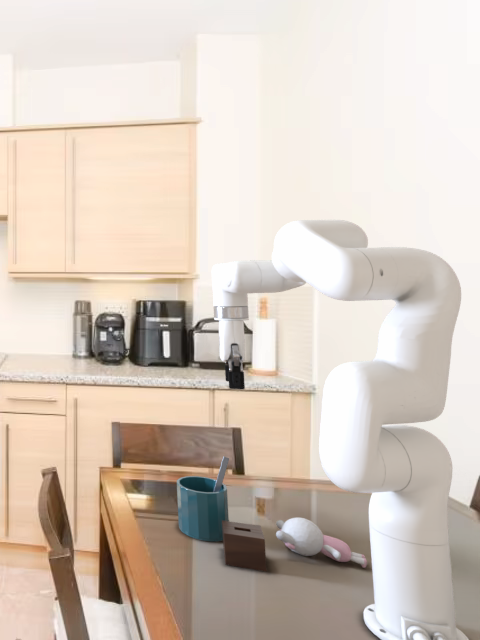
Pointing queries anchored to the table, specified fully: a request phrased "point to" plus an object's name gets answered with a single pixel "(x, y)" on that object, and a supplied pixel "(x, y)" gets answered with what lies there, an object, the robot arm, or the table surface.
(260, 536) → the utensil block
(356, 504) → the table surface
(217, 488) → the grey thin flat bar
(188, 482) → the teal cylindrical cup
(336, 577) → the table surface
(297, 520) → the toy
